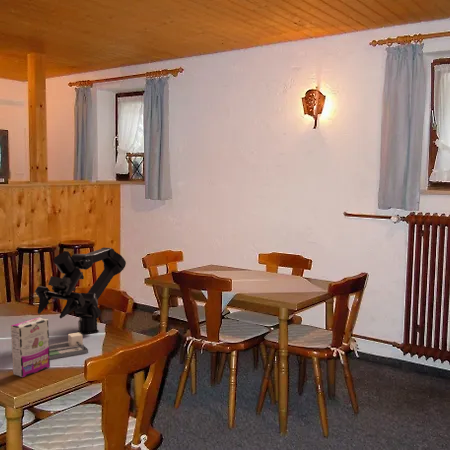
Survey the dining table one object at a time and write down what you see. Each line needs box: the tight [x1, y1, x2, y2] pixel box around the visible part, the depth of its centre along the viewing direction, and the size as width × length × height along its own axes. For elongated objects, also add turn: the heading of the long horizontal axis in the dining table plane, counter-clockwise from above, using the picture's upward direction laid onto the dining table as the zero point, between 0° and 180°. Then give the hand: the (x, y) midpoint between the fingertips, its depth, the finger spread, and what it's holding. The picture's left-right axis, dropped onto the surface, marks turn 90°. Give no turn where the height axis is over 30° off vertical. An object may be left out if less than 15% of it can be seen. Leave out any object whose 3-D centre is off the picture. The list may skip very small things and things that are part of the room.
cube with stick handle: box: [67, 331, 84, 346], centre depth 196 cm, size 4×8×4 cm, turn 33°
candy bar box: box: [10, 316, 51, 378], centre depth 175 cm, size 11×5×16 cm, turn 148°
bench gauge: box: [49, 340, 89, 360], centre depth 194 cm, size 19×13×5 cm
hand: (49, 315), depth 196 cm, fingers open, 9 cm apart
